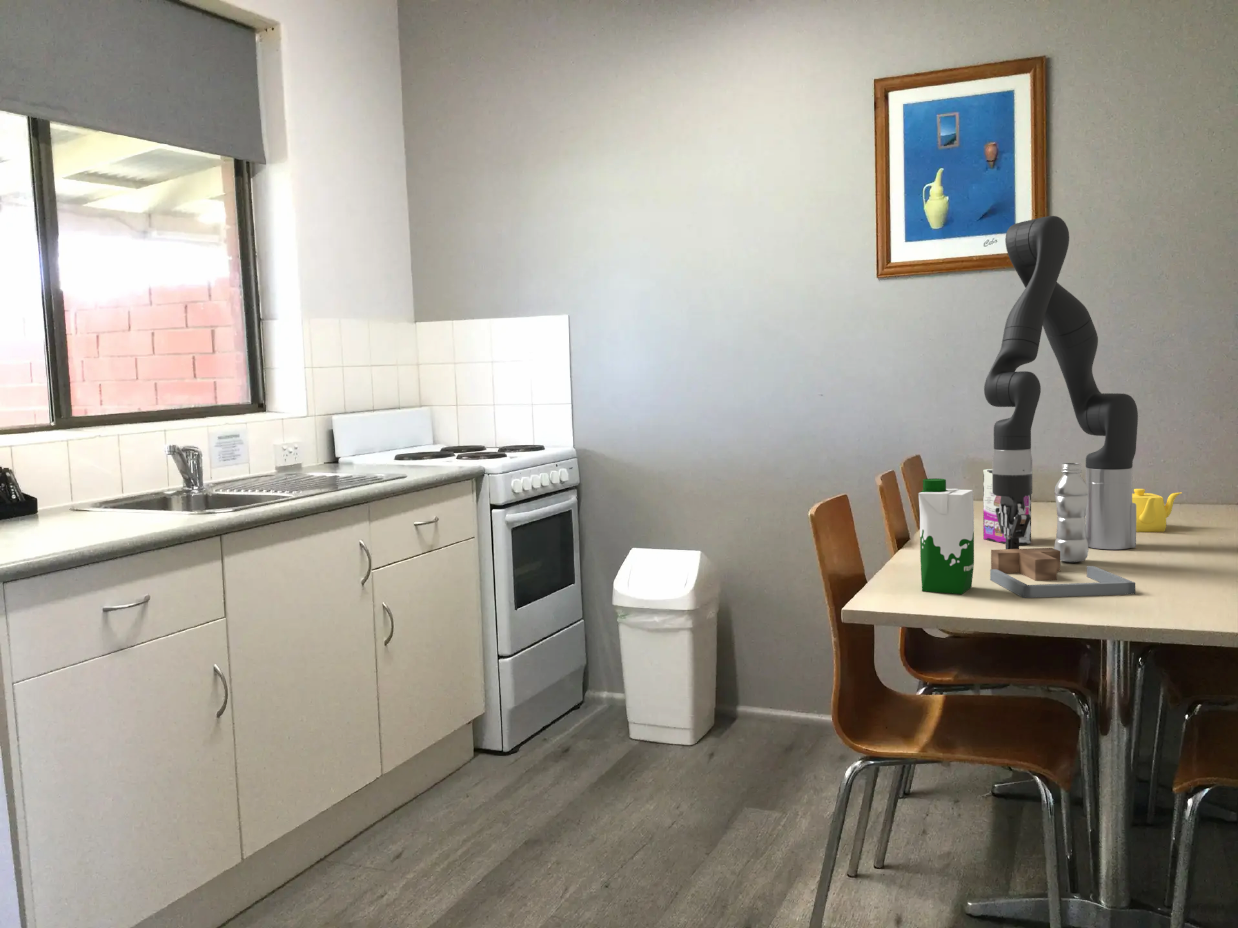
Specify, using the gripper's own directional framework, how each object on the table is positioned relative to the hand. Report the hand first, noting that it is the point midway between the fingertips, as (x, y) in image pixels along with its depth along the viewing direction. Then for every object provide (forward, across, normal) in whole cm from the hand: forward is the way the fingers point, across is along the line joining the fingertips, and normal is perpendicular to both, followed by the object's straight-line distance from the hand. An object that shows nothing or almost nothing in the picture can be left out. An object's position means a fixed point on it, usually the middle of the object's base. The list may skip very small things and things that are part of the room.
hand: (1012, 556), depth 214 cm
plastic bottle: (+2, +1, -12) cm, 12 cm away
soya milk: (+2, -22, +20) cm, 29 cm away
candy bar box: (+2, +28, -9) cm, 29 cm away
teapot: (+2, +40, -45) cm, 60 cm away
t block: (+2, -10, 0) cm, 11 cm away
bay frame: (+2, -22, 0) cm, 23 cm away
